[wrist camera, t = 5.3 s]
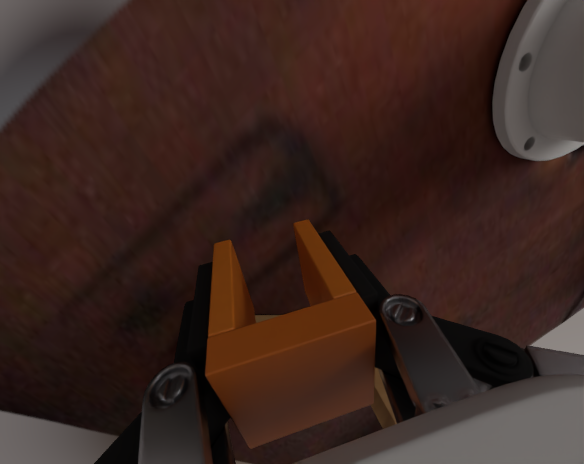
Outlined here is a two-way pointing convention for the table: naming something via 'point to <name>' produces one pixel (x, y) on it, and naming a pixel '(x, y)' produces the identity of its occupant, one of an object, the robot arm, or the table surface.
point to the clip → (289, 347)
